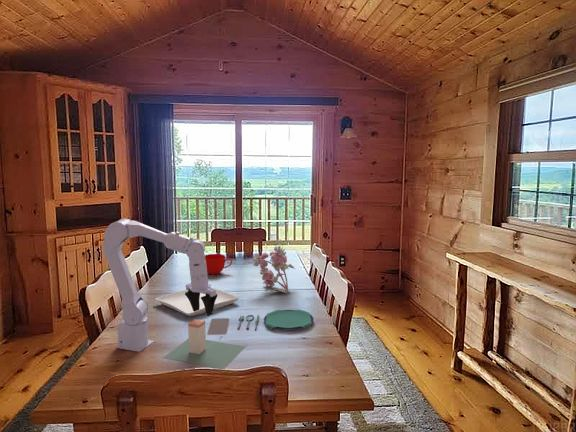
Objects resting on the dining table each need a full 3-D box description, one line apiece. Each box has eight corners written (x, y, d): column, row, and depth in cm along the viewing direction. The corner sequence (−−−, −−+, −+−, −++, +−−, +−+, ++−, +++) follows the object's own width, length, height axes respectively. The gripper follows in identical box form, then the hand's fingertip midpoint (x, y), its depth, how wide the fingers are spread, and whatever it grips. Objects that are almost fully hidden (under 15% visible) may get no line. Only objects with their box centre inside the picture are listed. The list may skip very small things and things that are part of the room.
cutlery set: (315, 333, 147) (315, 327, 147) (235, 334, 147) (235, 328, 147) (311, 313, 167) (311, 308, 167) (241, 314, 167) (240, 309, 167)
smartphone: (206, 334, 144) (211, 318, 159) (206, 337, 144) (211, 320, 159) (226, 334, 145) (229, 318, 159) (226, 336, 145) (229, 320, 160)
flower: (306, 281, 206) (285, 238, 206) (303, 290, 183) (280, 242, 184) (271, 296, 208) (251, 253, 208) (264, 308, 185) (242, 259, 186)
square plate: (240, 304, 177) (240, 296, 177) (188, 322, 157) (187, 313, 157) (205, 291, 196) (205, 283, 195) (154, 305, 176) (153, 297, 175)
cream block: (189, 352, 131) (188, 323, 130) (195, 347, 135) (194, 319, 133) (199, 354, 130) (198, 325, 128) (205, 348, 133) (205, 320, 132)
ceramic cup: (230, 276, 219) (230, 259, 218) (200, 276, 219) (199, 259, 218) (233, 270, 232) (233, 254, 231) (205, 270, 232) (204, 253, 231)
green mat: (162, 358, 127) (162, 357, 127) (190, 338, 142) (190, 337, 142) (223, 370, 120) (223, 369, 120) (245, 347, 135) (245, 346, 135)
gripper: (221, 274, 134) (225, 312, 135) (195, 269, 143) (199, 305, 145) (204, 280, 128) (208, 320, 130) (179, 274, 138) (183, 311, 140)
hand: (202, 312), depth 137 cm, fingers open, 7 cm apart
